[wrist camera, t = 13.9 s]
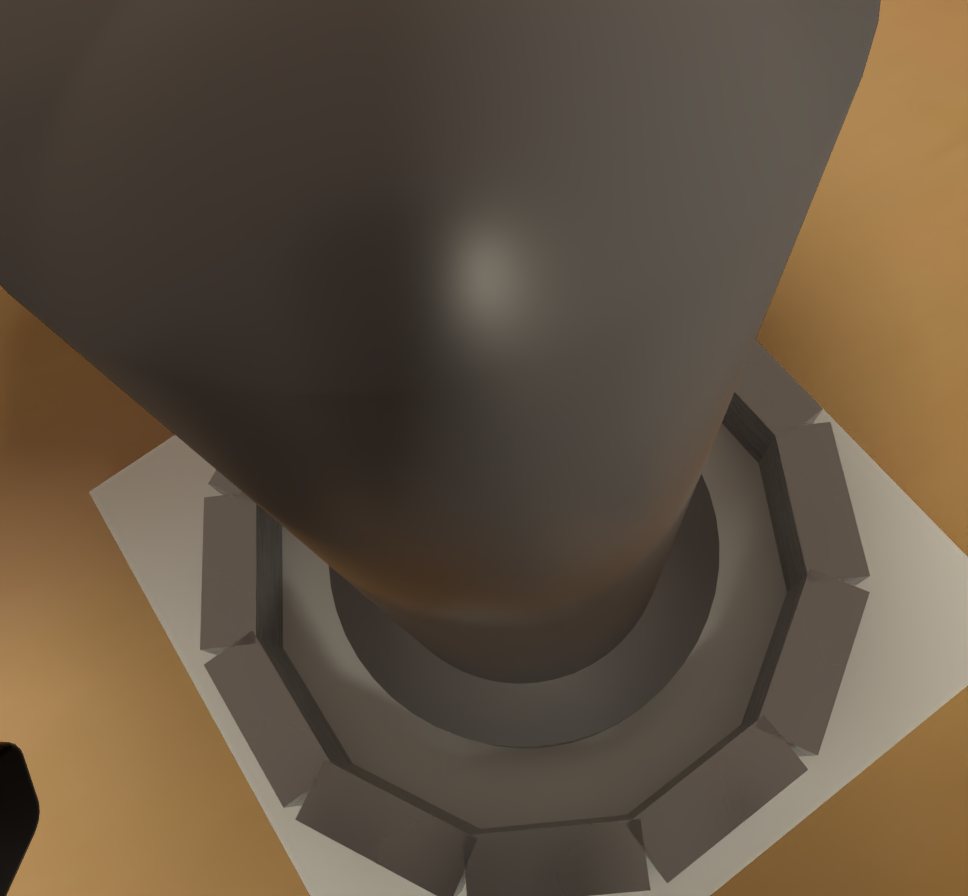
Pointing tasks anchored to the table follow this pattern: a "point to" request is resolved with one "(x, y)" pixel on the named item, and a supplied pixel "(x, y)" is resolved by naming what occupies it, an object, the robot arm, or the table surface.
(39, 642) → the table surface
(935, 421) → the table surface
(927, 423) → the table surface
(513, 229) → the pipe fitting
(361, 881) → the flange plate
